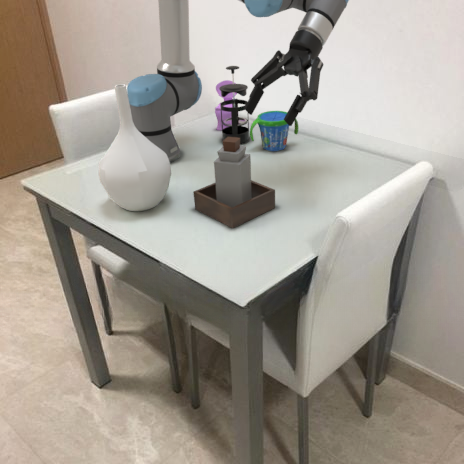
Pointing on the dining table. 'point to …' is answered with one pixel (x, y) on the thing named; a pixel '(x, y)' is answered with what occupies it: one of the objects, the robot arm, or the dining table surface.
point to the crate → (239, 214)
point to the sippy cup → (273, 130)
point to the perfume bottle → (233, 173)
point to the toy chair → (218, 108)
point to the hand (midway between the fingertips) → (266, 117)
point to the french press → (234, 111)
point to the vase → (133, 164)
